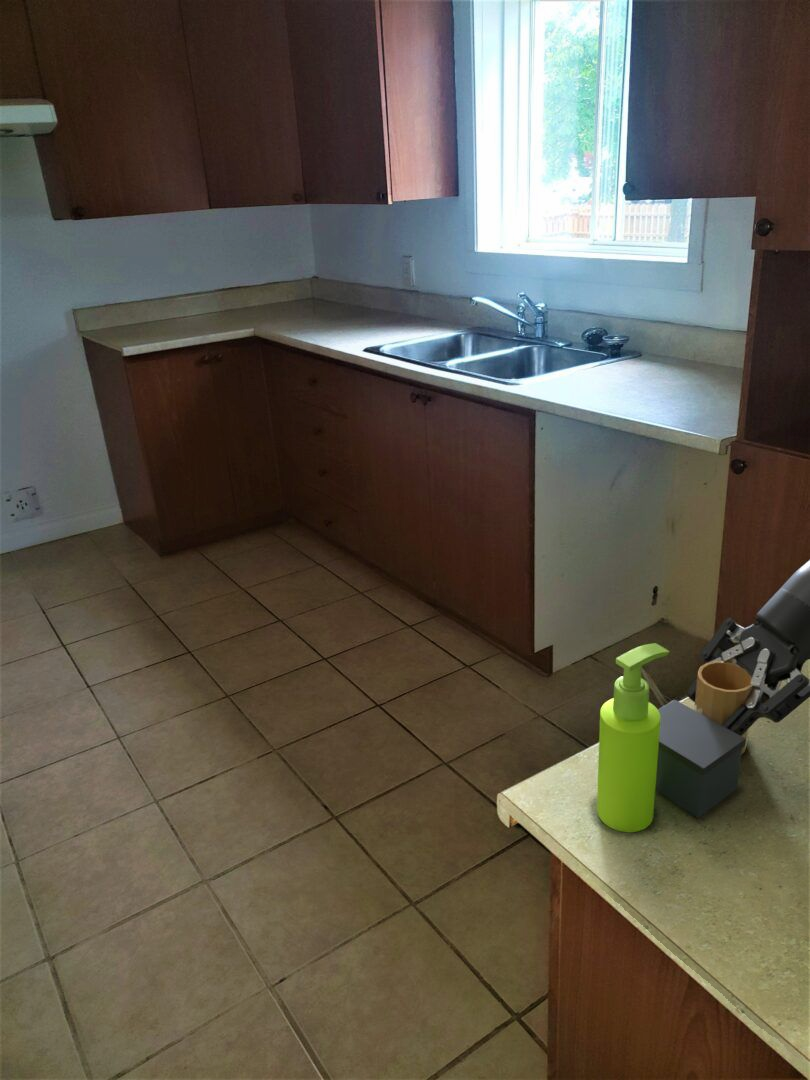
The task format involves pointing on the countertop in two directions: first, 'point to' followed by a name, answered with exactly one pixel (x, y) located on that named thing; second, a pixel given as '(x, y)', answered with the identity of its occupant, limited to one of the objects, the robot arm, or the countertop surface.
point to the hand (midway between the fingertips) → (709, 716)
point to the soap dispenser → (629, 746)
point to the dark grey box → (696, 759)
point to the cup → (722, 691)
